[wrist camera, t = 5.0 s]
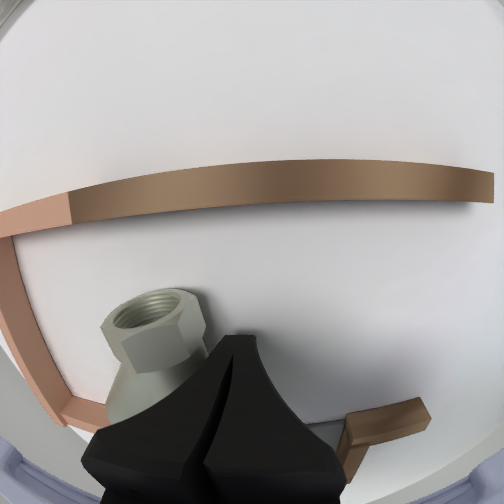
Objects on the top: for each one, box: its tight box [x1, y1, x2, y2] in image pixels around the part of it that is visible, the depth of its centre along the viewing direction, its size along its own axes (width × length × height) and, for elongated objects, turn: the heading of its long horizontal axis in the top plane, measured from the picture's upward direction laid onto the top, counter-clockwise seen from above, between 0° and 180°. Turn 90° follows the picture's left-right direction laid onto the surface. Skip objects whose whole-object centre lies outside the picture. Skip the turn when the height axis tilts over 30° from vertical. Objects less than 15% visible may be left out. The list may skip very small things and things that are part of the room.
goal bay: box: [0, 192, 112, 434], centre depth 11 cm, size 9×14×2 cm, turn 4°
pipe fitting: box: [100, 289, 209, 424], centre depth 10 cm, size 8×4×7 cm
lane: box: [68, 159, 494, 484], centre depth 11 cm, size 16×20×2 cm
